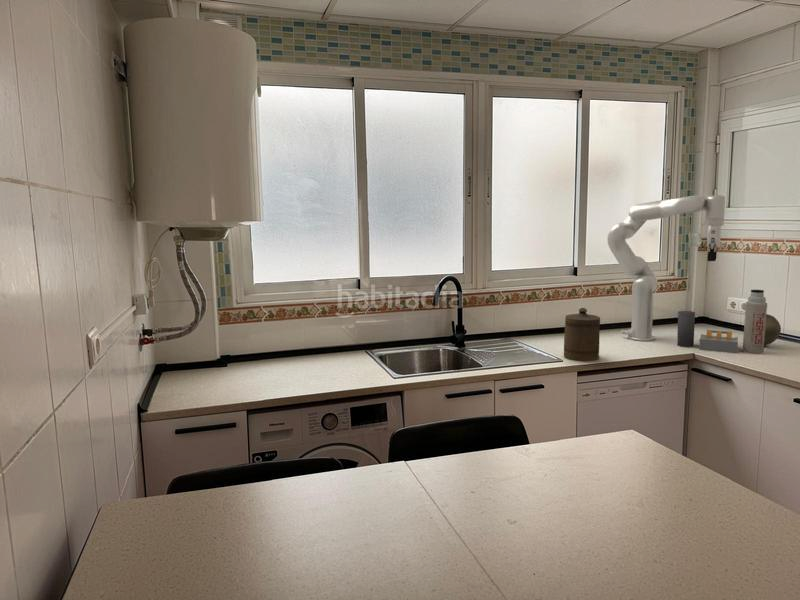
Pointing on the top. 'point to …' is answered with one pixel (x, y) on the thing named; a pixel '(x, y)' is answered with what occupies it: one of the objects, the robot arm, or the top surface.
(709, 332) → the breaker paddles
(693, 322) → the dark gray cylinder
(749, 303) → the thermos bottle
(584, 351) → the wooden container
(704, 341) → the breaker box
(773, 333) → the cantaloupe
